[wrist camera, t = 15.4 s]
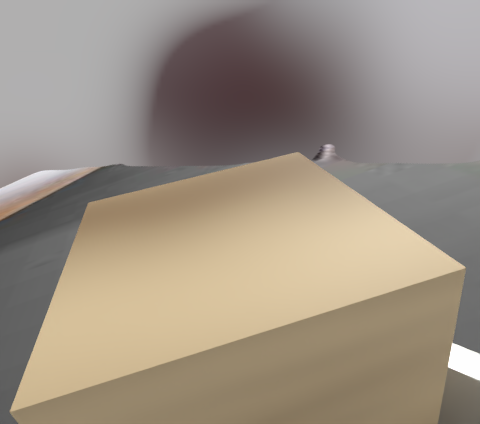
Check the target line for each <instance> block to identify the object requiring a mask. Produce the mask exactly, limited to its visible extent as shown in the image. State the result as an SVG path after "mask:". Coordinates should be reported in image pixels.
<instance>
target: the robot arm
mask: <svg viewBox="0 0 480 424" xmlns="http://www.w3.org/2000/svg"><path fill="white" fill-rule="evenodd" d="M438 424H480V354H478V353H476V352H473V351H471V350H468V349H466V348H463V347H461V346H458V345H456V344H454V343H452V348H451V354H450V359H449V365H448V370H447V376H446V381H445V387H444V392H443V398H442V403H441V409H440V414H439V420H438Z"/></svg>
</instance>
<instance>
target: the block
mask: <svg viewBox="0 0 480 424" xmlns="http://www.w3.org/2000/svg"><path fill="white" fill-rule="evenodd" d="M465 271H466V267H464V266H463V265H461V264H460V263H458V262H457V261H455V260H454V259H453V258H451V257H450V256H448V255H447V254H445V253H444V252H442V251H441V250H440V249H438V248H437V247H435V246H434V245H432V244H431V243H429V242H428V241H426V240H425V239H424V238H422V237H421V236H419V235H418V234H416V233H415V232H413V231H412V230H411V229H409V228H408V227H406V226H405V225H403V224H402V223H400V222H399V221H397V220H396V219H395V218H393V217H392V216H390V215H389V214H387V213H386V212H384V211H383V210H381V209H380V208H379V207H377V206H376V205H374V204H373V203H371V202H370V201H368V200H367V199H366V198H364V197H363V196H361V195H360V194H358V193H357V192H355V191H354V190H352V189H351V188H350V187H348V186H347V185H345V184H344V183H342V182H341V181H339V180H338V179H337V178H335V177H334V176H332V175H331V174H329V173H328V172H326V171H325V170H323V169H322V168H321V167H319V166H318V165H316V164H315V163H313V162H312V161H310V160H309V159H307V158H306V157H305V156H303V155H302V154H300V153H299V152H297V153H292V154H288V155H284V156H280V157H276V158H272V159H267V160H263V161H259V162H255V163H251V164H247V165H243V166H238V167H234V168H230V169H226V170H222V171H218V172H214V173H210V174H205V175H201V176H197V177H193V178H189V179H185V180H181V181H177V182H172V183H168V184H164V185H160V186H156V187H152V188H148V189H144V190H139V191H135V192H131V193H127V194H123V195H119V196H115V197H110V198H106V199H102V200H98V201H94V202H90V203H88V205H87V208H86V211H85V213H84V216H83V219H82V221H81V224H80V227H79V229H78V232H77V235H76V237H75V240H74V243H73V245H72V248H71V251H70V253H69V256H68V259H67V261H66V264H65V266H64V269H63V272H62V274H61V277H60V280H59V282H58V285H57V288H56V290H55V293H54V296H53V298H52V301H51V304H50V306H49V309H48V312H47V314H46V317H45V320H44V322H43V325H42V328H41V330H40V333H39V336H38V338H37V341H36V344H35V346H34V349H33V352H32V354H31V357H30V359H29V362H28V365H27V367H26V370H25V373H24V375H23V378H22V381H21V383H20V386H19V389H18V391H17V394H16V397H15V399H14V402H13V405H12V407H11V410H10V413H11V415H12V416H13V417H14V418H15V420H16V421H17V422H18V423H19V424H438V420H439V414H440V409H441V403H442V398H443V392H444V387H445V381H446V376H447V370H448V365H449V359H450V354H451V348H452V343H453V337H454V332H455V326H456V321H457V315H458V310H459V304H460V299H461V293H462V288H463V282H464V277H465Z"/></svg>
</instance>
